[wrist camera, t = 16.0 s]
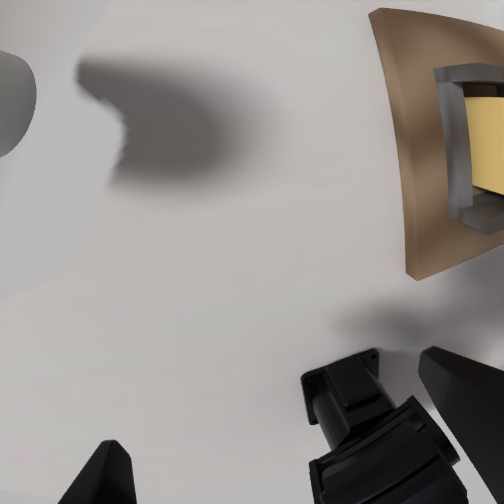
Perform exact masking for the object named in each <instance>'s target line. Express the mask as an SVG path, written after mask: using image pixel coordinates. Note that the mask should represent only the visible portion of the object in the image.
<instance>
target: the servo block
mask: <svg viewBox="0 0 504 504" xmlns="http://www.w3.org/2000/svg"><path fill="white" fill-rule="evenodd" d="M464 100H465V106H466V113H467V121H468V129H469V138H470V149H471V163H472V184H473V185H474V186H477V187H481V188H484V189H487V190H490V191H494V192H497V193H500V194H503V195H504V98H499V97H464Z"/></svg>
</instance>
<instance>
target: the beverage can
mask: <svg viewBox="0 0 504 504" xmlns="http://www.w3.org/2000/svg"><path fill="white" fill-rule="evenodd" d="M35 103H36V84H35V79H34V75H33V73H32V70H31V69H30V67H29V66H28V64H27V63H26V62H25V61H24V60H22V59H21V58H20V57H18V56H15V55H12V54H9V53H6V52H3V51H1V50H0V157H2V156H4V155H6V154H7V153H9V152H10V151H11V150H12V149H13V148H14V147H15V146H16V145H17V144H18V143H19V142H20V141H21V139H22V138H23V136H24V135H25V133H26V131H27V129H28V127H29V125H30V122H31V120H32V117H33V113H34V110H35Z"/></svg>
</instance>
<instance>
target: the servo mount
mask: <svg viewBox="0 0 504 504" xmlns="http://www.w3.org/2000/svg"><path fill="white" fill-rule="evenodd" d="M368 15H369V19H370V22H371V25H372V29H373V32H374V36H375V40H376V43H377V47H378V51H379V55H380V59H381V63H382V68H383V72H384V76H385V81H386V86H387V91H388V96H389V101H390V106H391V112H392V117H393V123H394V129H395V136H396V143H397V150H398V158H399V166H400V175H401V185H402V196H403V210H404V226H405V253H406V273H407V274H408V275H410V276H411V277H412V278H414V279H415V280H416V281H419V280H422V279H424V278H426V277H429V276H431V275H434V274H436V273H439V272H441V271H443V270H446V269H448V268H450V267H453V266H455V265H457V264H460V263H462V262H464V261H466V260H469V259H471V258H473V257H475V256H478V255H480V254H482V253H484V252H486V251H488V250H491V249H493V248H495V247H497V246H499V245H501V244H503V243H504V195H503V194H500V193H497V192H494V191H490V190H487V189H484V188H481V187H477V186H474V185H473V184H472V163H471V149H470V138H469V129H468V121H467V113H466V106H465V100H464V97H499V98H504V31H502V30H498V29H495V28H491V27H488V26H484V25H481V24H477V23H473V22H469V21H464V20H460V19H455V18H451V17H446V16H440V15H435V14H429V13H423V12H416V11H408V10H400V9H390V8H379V9H377V10H375V11H373V12H371V13H369V14H368Z"/></svg>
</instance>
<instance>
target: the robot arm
mask: <svg viewBox="0 0 504 504" xmlns="http://www.w3.org/2000/svg"><path fill="white" fill-rule="evenodd" d="M378 370H379V353H378V352H377V350H376V349H371V350H368V351H366V352H363V353H361V354H358V355H356V356H353V357H350V358H348V359H345V360H342V361H340V362H337V363H334V364H331V365H329V366H326V367H323V368H320V369H317V370H314V371H311V372H308V373H305V374H303V375H302V376H301V379H300V380H301V385H302V390H303V396H304V401H305V406H306V412H307V417H308V421H309V424H310V425H316V424H320V426H321V429H322V431H323V433H324V435H325V438H326V440H327V442H328V444H329V447H330V449H331V452H329V453H327V454H325V455H324V456H322V457H320V458H318V459H314V460H312V461H310V462H309V469H310V472H309V473H310V480H311V486H312V492H313V498H314V504H468V502H469V501H468V498H467V490H466V488H465V486H464V485H463V483H462V482H461V480H460V479H459V477H458V476H457V474H456V472H455V471H454V469H453V468H452V466H453V465H455V464H456V463H457V462H459V461H460V457H459V455H458V453H457V452H456V450H455V448H454V447H453V445H452V444H451V443H450V441H449V440H448V438H447V436H446V435H445V434H444V432H443V431H442V430H441V428H440V427H439V426H438V425H437V423H436V422H435V421H434V420H433V418H432V417H431V416H430V415H429V414H428V412H427V411H426V410H425V409H424V408H423V406H422V405H421V404H420V403H419V402H418V401H417V399H416V398H415V397H414V396H413V395H412V396H411V397H409V398H408V399H407V401H406V402H405V403H403V404H402V405H401V406H399V407H398V408H397V407H396V405H395V404H394V402H393V401H392V399H391V398H390V397H389V395H388V394H387V392H386V391H385V389H384V388H383V387H382V385H381V384H380V382H379V381H378ZM418 373H419V377H420V379H421V380H422V382H423V384H424V386H425V388H426V390H427V392H428V393H429V395H430V397H431V399H432V401H433V403H434V405H435V407H436V408H437V410H438V412H439V414H440V415H441V417H442V419H443V420H444V422H445V423H446V425H447V426H448V427H449V429H450V430H451V432H452V433H453V435H454V436H455V438H456V439H457V441H458V442H459V444H460V445H461V447H462V448H463V450H464V451H465V453H466V454H467V456H468V457H469V459H470V461H471V462H472V463H473V465H474V467H475V468H476V470H477V471H478V473H479V475H480V476H481V478H482V479H483V481H484V483H485V484H486V486H487V487H488V489H489V491H490V492H491V494H492V496H493V497H494V499H495V500H496V502H497V504H504V371H502V370H500V369H497V368H494V367H491V366H489V365H486V364H483V363H480V362H477V361H474V360H472V359H469V358H466V357H463V356H460V355H458V354H455V353H452V352H449V351H447V350H444V349H441V348H438V347H436V346H431V347H429V348H427V349H425V350H423V351H422V352H421V354H420V362H419V369H418ZM306 379H308V380H306ZM58 504H137V500H136V493H135V486H134V478H133V470H132V461H131V458H130V456H129V454H128V453H127V452H126V450H125V449H124V448H123V447H122V446H121V445H120V444H119V442H118V441H116V440H105V441H102V442H101V443H100V445H99V446H98V448H97V449H96V450H95V452H94V453H93V455H92V456H91V457H90V459H89V460H88V462H87V463H86V464H85V466H84V467H83V469H82V470H81V471H80V473H79V474H78V476H77V477H76V478H75V480H74V481H73V483H72V484H71V485H70V487H69V488H68V490H67V491H66V492H65V494H64V495H63V497H62V498H61V500H60V501H59V502H58Z"/></svg>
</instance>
